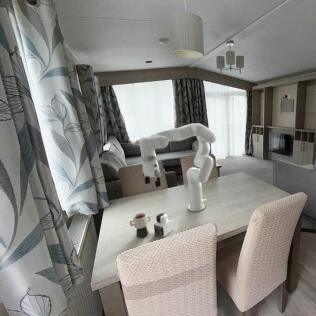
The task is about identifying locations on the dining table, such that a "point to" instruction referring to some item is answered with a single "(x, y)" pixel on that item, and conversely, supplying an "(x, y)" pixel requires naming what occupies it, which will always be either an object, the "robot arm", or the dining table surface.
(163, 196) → the dining table surface
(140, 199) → the dining table surface
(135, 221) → the character mug
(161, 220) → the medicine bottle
